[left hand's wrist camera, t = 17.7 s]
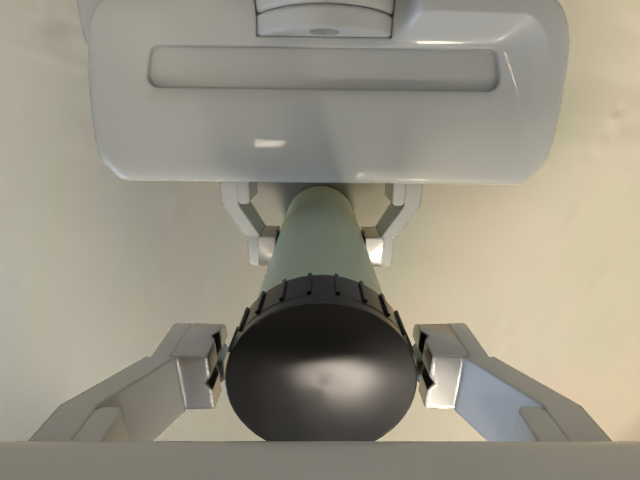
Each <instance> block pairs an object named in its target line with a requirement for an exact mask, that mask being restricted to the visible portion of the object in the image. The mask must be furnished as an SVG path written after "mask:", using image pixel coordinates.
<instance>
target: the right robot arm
mask: <svg viewBox="0 0 640 480" xmlns="http://www.w3.org/2000/svg"><path fill="white" fill-rule="evenodd" d="M77 4H78V9H79V14H80V19H81V23H82V28H83V33H84V37H85V40H86V43H87V45H88V65H89V86H90V97H91V108H92V117H93V125H94V132H95V139H96V144H97V149H98V153H99V156H100V158H101V159H102V161H103V162H104V163H105V164H106V165H107V166H108V167H109V168H110V169H111V170H112V171H113V172H114V173H115V174H116V175H117V176H118V177H119V178H120V179H122V180H132V181H219V182H220V189H221V199H222V205H223V206H224V208H225V209H226V210H227V212H228V213H229V215H230V216H231V217H232V219H233V220H234V222H235V223H236V224H237V226H238V227H239V229H240V230H241V231H242V233H243V234H244V236H247V239H248V253H249V263H250V265H257V266H259V265H269V263H270V260H271V257H272V254H273V251H274V248H275V245H276V243H277V240H278V237H279V234H280V226H265V224H264V222H263V221H262V219H261V217H260V216H259V214H258V212H257V211H256V209H255V208H254V206H253V204H252V203H251V200H252V199H253V197H254V196H255V195H256V194H257V182H307V183H385V193H384V194H385V195H386V196H387V198H388V199H389V200H390V202H391V204H390V205H389V207H388V208H387V210H386V211H385V213H384V214H383V216H382V217H381V219H380V220H379V222H378V223H377V225H376V227H361V234H362V237H363V240H364V243H365V245H366V248H367V251H368V254H369V257H370V260H371V263H372V266H373V267H390V266H391V262H392V252H393V241H394V238H396V237H397V236H398V235H399V233H400V232H401V231H402V229H403V228H404V227H405V226H406V224H407V223H408V222H409V220H410V219H411V218H412V216H413V215H414V214H415V212H416V211H417V210H418V208H419V207H420V201H421V193H422V185H423V184H482V185H520V184H523V183H525V182H526V181H527V180H528V179H529V178H530V177H531V176H532V175H533V174H534V173H536V172H537V170H538V169H539V168H540V167H541V166H542V165H543V164H544V163H545V161H546V160H547V157H548V155H549V152H550V149H551V145H552V142H553V138H554V134H555V129H556V125H557V120H558V115H559V110H560V105H561V100H562V94H563V89H564V83H565V76H566V69H567V61H568V52H569V28H568V22H567V17H566V15H565V12H564V10H563V8H562V6H561V5H560V3H559V2H558V1H557V0H77Z"/></svg>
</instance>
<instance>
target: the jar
mask: <svg viewBox="0 0 640 480" xmlns="http://www.w3.org/2000/svg"><path fill="white" fill-rule="evenodd" d="M308 273H312V275H333V276H334V274H335V273H336V274H338V275H339V277H344V278H348V279H351V280H354V281H357V282H359V281H360V280H361V281H363V283H364V285H365V286H367V287H369V288H371V289H372V290H374V291H375V292H377V293H378V294H379V295H380V294H381V293H382V292H381V289H380V286H379V283H378V280H377V277H376V274H375V271H374V269H373V266H372V263H371V260H370V257H369V254H368V251H367V248H366V245H365V243H364V240H363V237H362V234H361V231H360V228H359V225H358V222H357V220H356V217H355V214H354V211H353V208H352V206H351V204H350V202H349V200H348V199H347V198H346V197H345V196H344V195H343V194H342V193H341V192H339V191H338V190H336V189H333V188H331V187H327V186H314V187H310V188H307V189H305V190H303V191H301V192H300V193H299V194H297V195H296V196H295V197H294V199H293V200H292V201H291V203H290V205H289V207H288V210H287V213H286V216H285V219H284V222H283V225H282V228H281V231H280V234H279V237H278V240H277V243H276V245H275V248H274V251H273V254H272V257H271V260H270V263H269V266H268V269H267V272H266V275H265V278H264V281H263V284H262V287H261V290H260V293H259V296H258V298H259V297H260V294H261V292H262V291H265V292H267V291H268V290H270V289H271V288H273V287H275V286H276V285H278V284H281V283H282V280H284V279H286V280H287V281H288V280H291V279H294V278H298V277H302V276H308Z"/></svg>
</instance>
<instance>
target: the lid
mask: <svg viewBox="0 0 640 480" xmlns="http://www.w3.org/2000/svg"><path fill="white" fill-rule="evenodd" d="M228 352H230V354H229V357H228V360H227V364H226V370H225V386H226V391H227V395H228V398H229V401H230V404H231V406H232V408H233V409H234V411H235V413H236V414H237V416H238V417H239V418H240V420H241V421H242V422H243V423H244V424H245V425H246V426H247V427H248V428H249V429H250V430H251V431H252V432H254V433H255V434H256V435H258V436H259V437H261V438H262V439H264V440H266V441H332V442H374V441H376V440H378V439H379V438H381V437H383V436H384V435H385V434H387V433H388V432H389V431H391V430H392V429H393V428H394V427H395V426H396V425H397V424H398V423H399V422H400V421H401V419H402V418H403V417H404V416H405V414H406V413H407V411H408V409H409V408H410V406H411V403H412V401H413V398H414V395H415V391H416V385H417V370H416V364H415V361H414V357H413V356H415V353H414V350H413V348H412V345H411V343H410V340H409V338H408V335H407V333H406V330H405V328H404V325H403V323H402V320H401V318H400V315H399V313H398V311H397V310H396V311H394V310H393V309H392V307H391V306H390V305H389V304H388V302H387V301H386V300H385V297H384V295H383V294H382V293H381V294H380V295H379V294H378V293H377V292H375V291H374V290H372V289H371V288H369V287H367V286H365V285H364V283H363V281H361V280H360V281H359V282H357V281H354V280H351V279H348V278H344V277H339V275H338V274H336V273H335V274H334V276H333V275H312V273H308V276H302V277H298V278H294V279H291V280H288V281H287V280H286V279H284V280H282V283H281V284H278V285H276V286H275V287H273V288H271V289H270V290H268V291H267V292H265V291H262V292H261V294H260V297H259V298H258V299H257V300H256V301H255V302H254V303H253V304H252V306H251V307H250V308H248V307H247V308H246V309H245V311H244V314H243V317H242V319H241V322H240V324H239V327H238V326H237V328H236V331H235V333H234V336H233V338H232V341H231V344H230V346H229V349H228Z"/></svg>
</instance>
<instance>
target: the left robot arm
mask: <svg viewBox="0 0 640 480" xmlns="http://www.w3.org/2000/svg"><path fill="white" fill-rule="evenodd" d="M226 338H227V330H226V326H225V325H224V324H200V323H193V324H192V323H177V324H174V325H173V326H172V328H171V329H170V331H169V332H168V334H167V335H166V336H165V338H164V339H163V341H162V342H161V344H160V345H159V346H158V348H157V349H156V351H155V352H154V354H153V355H152V356H151V357H145V358H143V359H142V360H140V361H138V362H136V363H134V364H133V365H131V366H129V367H127V368H126V369H124V370H122V371H120V372H118V373H117V374H115V375H113V376H111V377H110V378H108V379H106V380H104V381H102V382H101V383H99V384H97V385H95V386H93V387H92V388H90V389H88V390H86V391H85V392H83V393H81V394H79V395H77V396H76V397H74V398H72V399H70V400H69V401H67V402H65V403H63V404H61V405H60V406H59V407H58V408H57V409H56V410H55V411H54V412H53V414H52V415H51V416H50V417H49V418H48V419H47V420H46V421H45V423H44V424H43V425H42V426H41V427H40V428H39V429H38V430H37V431H36V433H35V434H34V435H33V436H32V437H31V438H30V439H29V440H28V441H0V480H640V441H612V440H611V439H610V438H609V437H608V436H607V435H606V434H605V432H604V431H603V430H602V429H601V428H600V427H599V426H598V425H597V423H596V422H595V421H594V420H593V419H592V418H591V417H590V416H589V414H588V413H587V412H586V411H585V410H584V409H583V408H582V407H581V406H580V405H578V404H577V403H575V402H573V401H571V400H569V399H568V398H566V397H564V396H562V395H561V394H559V393H557V392H555V391H553V390H552V389H550V388H548V387H546V386H545V385H543V384H541V383H539V382H538V381H536V380H534V379H532V378H530V377H529V376H527V375H525V374H523V373H522V372H520V371H518V370H516V369H514V368H513V367H511V366H509V365H507V364H506V363H504V362H502V361H500V360H498V359H497V358H495V357H489V356H488V355H487V354H486V352H485V351H484V349H483V348H482V346H481V345H480V344H479V342H478V341H477V339H476V338H475V337H474V335H473V334H472V332H471V331H470V329H469V328H468V327H467V325H466V324H464V323H450V324H415V326H414V329H413V338H414V340H415V344H414V345H413V346H412V348H413V350H414V353H415V356H413V357H414V361H415V364H416V370H417V381H418V382H419V392H420V395H421V398H422V401H423V403H424V406H425V408H435V409H455V411H456V412H457V413H458V414H459V415H460V416H461V417H462V418H463V419H465V420H466V421H467V422H468V423H469V424H470V425H471V426H472V427H473V428H474V429H475V430H476V431H477V432H478V433H479V434H480V435H481V436H483V437H484V438H485V439H486V440H487V441H458V442H332V441H153V440H154V439H155V438H157V437H158V436H159V435H160V434H161V433H162V432H163V431H164V430H165V429H166V428H167V427H168V426H169V425H170V424H171V423H172V422H174V421H175V420H176V419H177V418H178V417H179V416H180V415H181V414H182V413H183V412H184V411H185V409H205V408H215V406H216V404H217V401H218V398H219V395H220V393H221V382H222V381H223V380H224V379H225V370H226V364H227V360H228V357H229V352H228V349H229V347H228V346H227V345H226V344H225V340H226Z"/></svg>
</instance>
